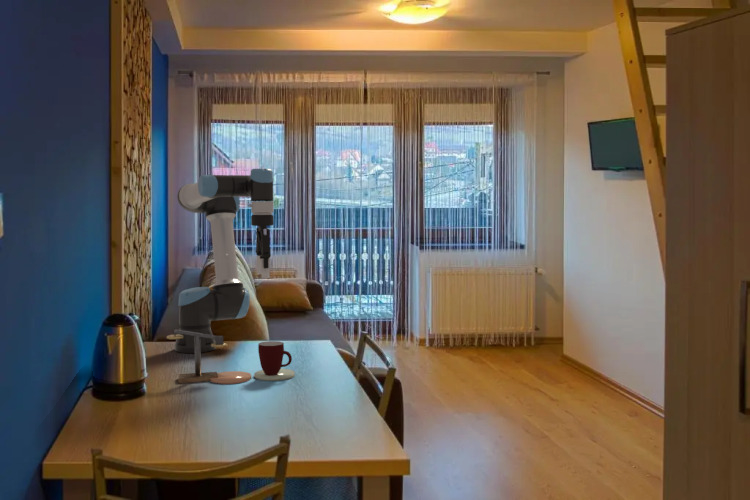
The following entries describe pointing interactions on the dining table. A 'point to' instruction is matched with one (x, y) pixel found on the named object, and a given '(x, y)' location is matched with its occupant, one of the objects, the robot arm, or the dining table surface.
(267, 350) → the mug
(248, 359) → the dining table surface
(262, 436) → the dining table surface
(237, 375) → the dish terracotta
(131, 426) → the dining table surface
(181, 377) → the balance
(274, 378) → the dish sage
